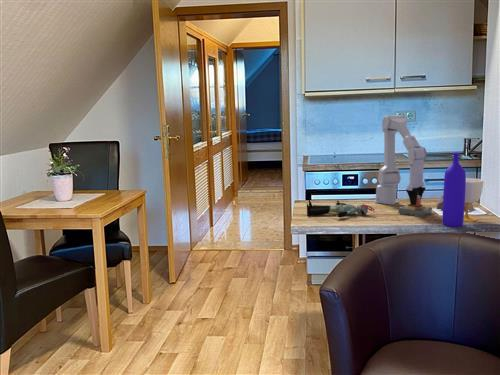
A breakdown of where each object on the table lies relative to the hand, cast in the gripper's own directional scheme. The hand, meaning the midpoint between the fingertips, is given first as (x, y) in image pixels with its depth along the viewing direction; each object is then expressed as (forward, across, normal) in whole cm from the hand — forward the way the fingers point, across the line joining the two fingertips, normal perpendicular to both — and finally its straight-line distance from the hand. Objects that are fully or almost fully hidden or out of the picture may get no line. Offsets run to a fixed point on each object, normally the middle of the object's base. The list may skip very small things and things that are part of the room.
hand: (415, 203), depth 233 cm
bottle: (+5, -12, -21) cm, 24 cm away
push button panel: (+4, 0, 0) cm, 4 cm away
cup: (+5, +2, -22) cm, 23 cm away
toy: (+5, -20, +27) cm, 34 cm away
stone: (+5, +20, -11) cm, 23 cm away
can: (+2, 0, 0) cm, 2 cm away
